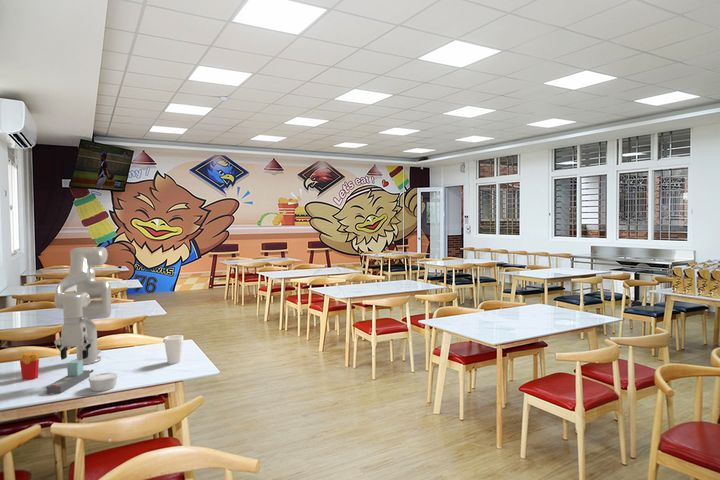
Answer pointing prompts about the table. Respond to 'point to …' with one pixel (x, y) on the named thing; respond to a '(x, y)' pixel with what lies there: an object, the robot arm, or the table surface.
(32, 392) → the table surface
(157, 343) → the table surface
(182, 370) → the table surface
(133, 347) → the table surface
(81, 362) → the block
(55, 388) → the power strip
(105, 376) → the ramekin
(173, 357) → the foam cup
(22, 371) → the french fries
